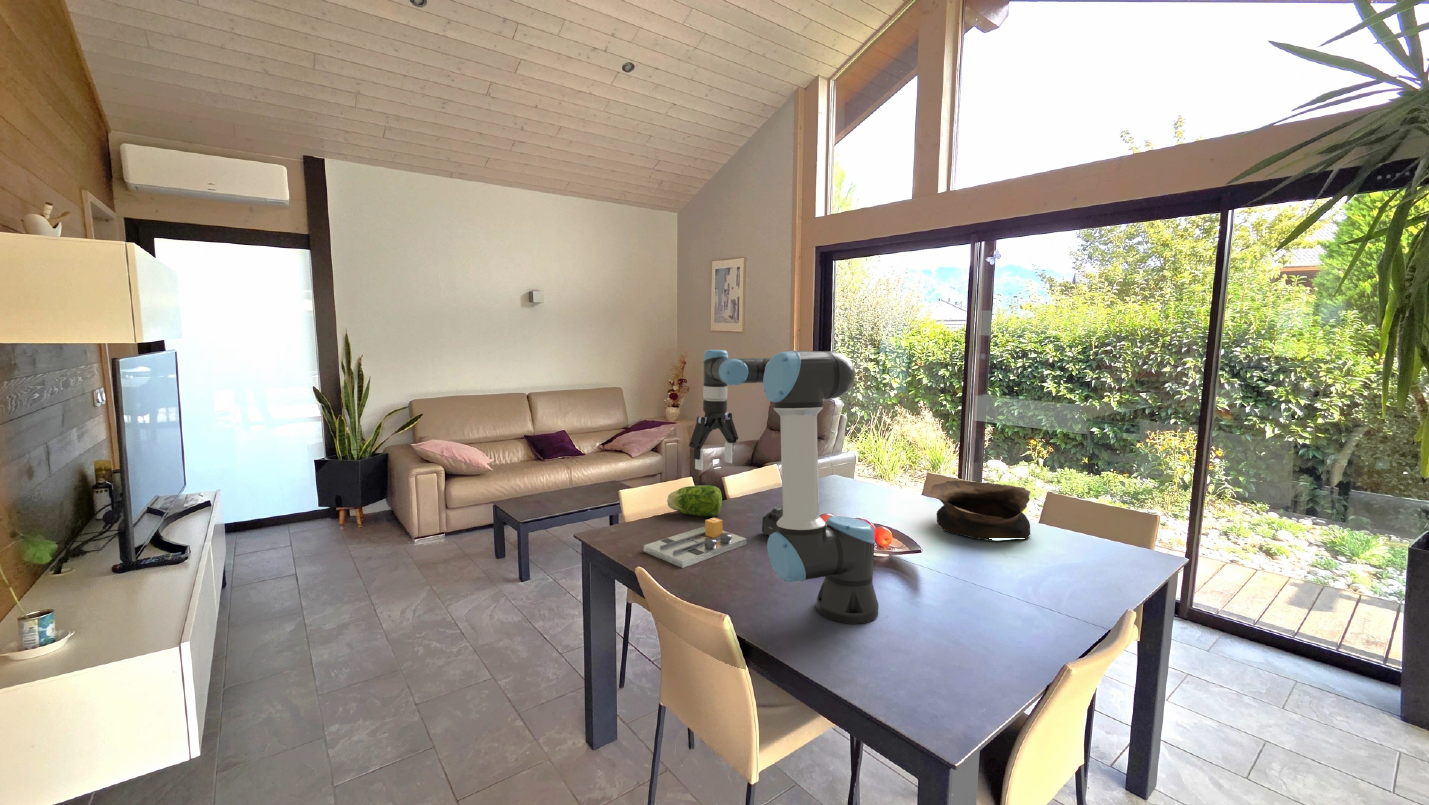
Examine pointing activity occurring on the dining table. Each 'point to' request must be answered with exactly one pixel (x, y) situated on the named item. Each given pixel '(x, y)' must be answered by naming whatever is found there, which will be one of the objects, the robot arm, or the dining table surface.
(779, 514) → the camera
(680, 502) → the lettuce
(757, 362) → the robot arm
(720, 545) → the console
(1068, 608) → the dining table surface
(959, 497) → the bowl
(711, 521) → the fader
